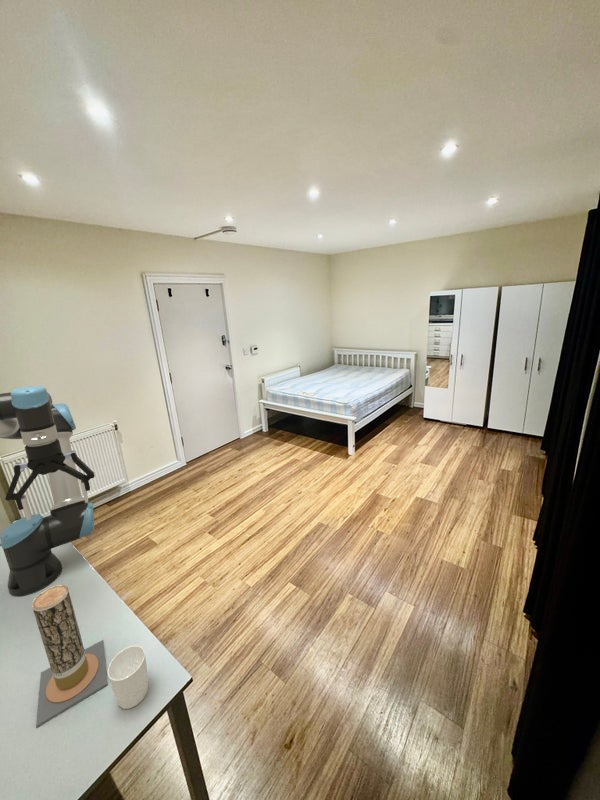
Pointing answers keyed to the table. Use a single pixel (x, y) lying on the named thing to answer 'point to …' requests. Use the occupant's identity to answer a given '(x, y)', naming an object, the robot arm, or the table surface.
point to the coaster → (62, 699)
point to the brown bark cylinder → (60, 636)
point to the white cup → (129, 676)
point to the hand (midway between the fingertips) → (59, 509)
